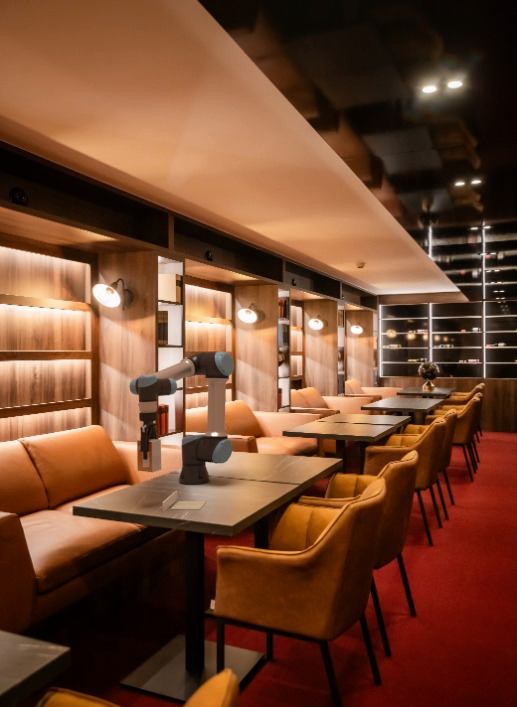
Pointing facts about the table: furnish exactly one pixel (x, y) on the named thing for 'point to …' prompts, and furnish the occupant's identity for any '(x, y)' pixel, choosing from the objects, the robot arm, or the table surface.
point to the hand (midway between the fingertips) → (149, 465)
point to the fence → (170, 501)
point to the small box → (150, 456)
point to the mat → (188, 505)
